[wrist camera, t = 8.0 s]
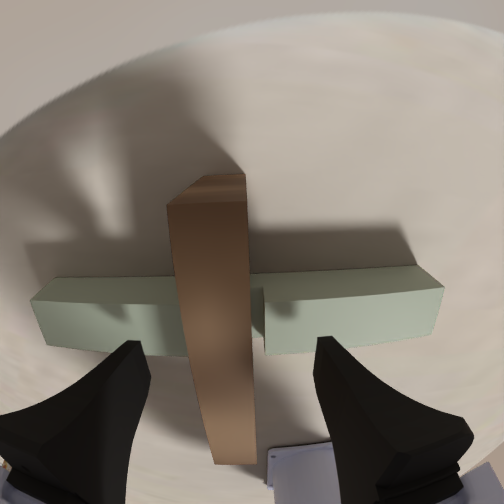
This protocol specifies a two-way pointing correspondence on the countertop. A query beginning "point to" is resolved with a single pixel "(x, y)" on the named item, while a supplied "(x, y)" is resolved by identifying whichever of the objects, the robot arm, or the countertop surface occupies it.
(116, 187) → the countertop surface
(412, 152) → the countertop surface
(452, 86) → the countertop surface
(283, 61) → the countertop surface
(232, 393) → the walnut plate
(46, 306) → the slotted rail
